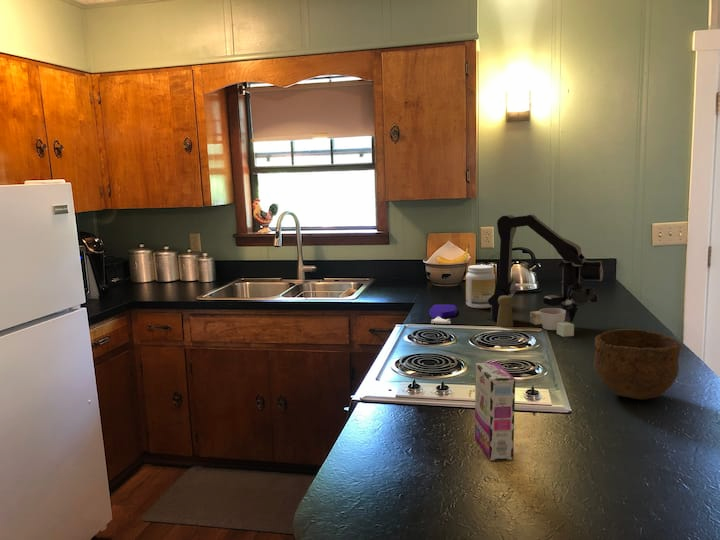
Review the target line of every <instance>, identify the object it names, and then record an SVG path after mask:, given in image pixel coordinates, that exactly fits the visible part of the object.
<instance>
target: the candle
mask: <svg viewBox="0 0 720 540" xmlns="http://www.w3.org/2000/svg"><path fill="white" fill-rule="evenodd" d="M539 311H540V316H541V322H542V324H541V325H542V329H545V330H546V331H548V330H549V331H557V323H559V322H565V319H566V310H564V309H563V308H558V307H547V308H545V307H544V308H541V309H539Z"/></svg>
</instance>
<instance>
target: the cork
mask: <svg viewBox="0 0 720 540" xmlns="http://www.w3.org/2000/svg"><path fill="white" fill-rule="evenodd" d="M513 301H514V300H513V296H512V297H511V296H506V295H504V296H500V297H499V298H498V303H499V312H498V319H497V321H496V326H497V327H499V326H501V327H500V328H512V327H514V320H513V311H512V304H513Z"/></svg>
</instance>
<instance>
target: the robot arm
mask: <svg viewBox="0 0 720 540" xmlns="http://www.w3.org/2000/svg"><path fill="white" fill-rule="evenodd" d="M496 225H497V226H496V227H497V234H498V236H499V239H500V244H499V245H500V247H499V265H498V267H499V268H498V279H497V281H496V282H495V291H494V295H493V296H492V297H490V298H489V299H488V302H489V305H491V307H490V312H491V313H490V316H487V319H489V320H491V321H493V322H497V319H498V312H499V303H498V298H499V297H500V296H504V295H506V296H511V297H512V298H513V296H514V295H515V293H516V292H517V290H516V285H517V281H513V278H512V264H513V263H512V262H513V261H512V260H513V258H512V257H513V245H514V244H513V241H514V238H515V234H516V232H517V228H518V227H519V228H520V227H528V228H530V229H531V230H532V231H533V232H535V233H536V234H537V235H538V236H540V237H541V238H542V239H544V240H545V241H546V242H547V243H548V244H550V245H552V247H553V248H554V249H555V251H556V252H557V253H558V255H560V257H561V260H560V262H559V263H557V264H556V267H557V268H562V281H560V283H559V284H560V285H562V292H560V296H559V295H555V294H550V295H545V296H544V297H543V304H545V305H548V306H551V307H559V306H560V307H561V309H564V310H566V315H565V318H566V319H567V320H568V321H567V322H569V323H572V324H573V322H574V319H575V316H576V314H577V311H578V309H579V308H580V307H581V306H585V304H588V303H589V302H590V303H598V302H599V296H598V294H597V293H595V290H594V288H592V287H591V288H590V287H589V288H583V284H582V282H580V280H581V279H580V278H582V279H583V280H584V281H597V282H601V281H603V279H604V278H603V277H604V269H603V265H602V263H603V262H602V260H596V261H592V260H591V261H589V260H587V258H586V257H585V256H584V255H583V253H582V248H581V247H580V245H579V244H576V243H575V242H573V241H571V240H569V239H567V238H564V237H562V236H561V235H559V234H558V233H557V232H556V231H554V230H553V229H552V228H550V227H549V226H548V225H546V224H545V223H544V222H543V221H542V220H540V219H539V218H538V217H537V216H536V215H535V214H527V215H519V216H514V215H513V214H507V215H502V216H500V217H499V218H498V219H497V221H496Z"/></svg>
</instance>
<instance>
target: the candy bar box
mask: <svg viewBox="0 0 720 540" xmlns="http://www.w3.org/2000/svg"><path fill="white" fill-rule="evenodd" d="M474 387H475V389H474V390H475V391H474V392H475V393H474V394H475V395H474V398H475V400H474V403H475V405H474V438H475V440H476V442H477V443H478V444H479V446H480V448H481V449H482V451H483V453H484V454H485V455H486V457H487V458H488V460H489V462H497V461H498V462H503V461H504V462H505V461H513V460H514V445H515V444H514V439H515V438H514V437H515V433H514V432H515V407H516V406H515V405H516V404H515V402H516V401H515V400H516V399H515V398H516V378H515V377H514V376H513V375H512V374H510V373H509V371H507V369H505V368H504V367H503V366H502V365H501V364H499V362H494V361H493V362H476V363H475V386H474Z"/></svg>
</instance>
